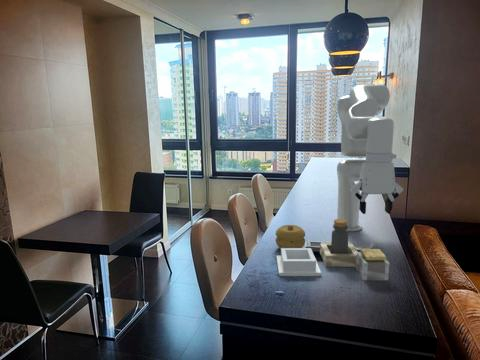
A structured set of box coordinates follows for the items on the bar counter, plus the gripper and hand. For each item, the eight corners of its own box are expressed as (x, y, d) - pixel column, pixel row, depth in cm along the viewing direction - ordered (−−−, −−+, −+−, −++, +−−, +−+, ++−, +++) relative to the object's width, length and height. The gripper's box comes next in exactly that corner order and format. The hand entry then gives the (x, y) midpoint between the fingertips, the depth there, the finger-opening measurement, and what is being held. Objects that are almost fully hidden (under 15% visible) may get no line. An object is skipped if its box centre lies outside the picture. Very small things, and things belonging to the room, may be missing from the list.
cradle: (276, 258, 132) (276, 246, 131) (314, 258, 131) (314, 246, 130) (279, 276, 118) (279, 263, 117) (321, 276, 118) (321, 262, 117)
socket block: (319, 252, 136) (320, 238, 135) (366, 252, 135) (367, 237, 134) (332, 280, 115) (332, 263, 113) (388, 280, 114) (389, 263, 113)
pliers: (372, 239, 145) (376, 254, 130) (372, 243, 145) (376, 258, 131) (347, 238, 147) (349, 252, 133) (347, 241, 147) (348, 256, 133)
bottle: (345, 256, 133) (346, 218, 130) (349, 262, 127) (350, 223, 124) (329, 256, 133) (330, 218, 130) (332, 262, 127) (334, 223, 124)
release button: (359, 265, 121) (360, 249, 120) (378, 265, 120) (379, 248, 119) (365, 274, 114) (366, 256, 113) (385, 274, 114) (386, 256, 113)
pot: (297, 257, 133) (298, 232, 130) (270, 251, 139) (270, 227, 137) (309, 246, 142) (310, 223, 140) (283, 241, 148) (283, 218, 146)
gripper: (402, 156, 113) (398, 209, 117) (347, 156, 114) (345, 209, 117) (412, 159, 106) (407, 216, 109) (353, 160, 106) (351, 216, 110)
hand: (375, 212), depth 113 cm, fingers open, 7 cm apart
